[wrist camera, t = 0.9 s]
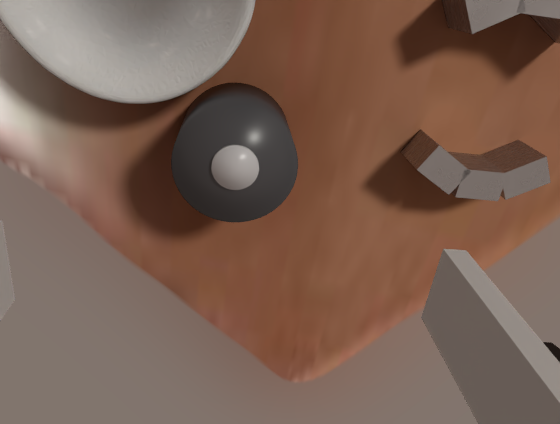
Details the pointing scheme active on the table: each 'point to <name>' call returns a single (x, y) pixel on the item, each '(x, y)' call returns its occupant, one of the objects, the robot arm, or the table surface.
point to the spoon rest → (129, 42)
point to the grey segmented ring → (505, 160)
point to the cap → (234, 154)
